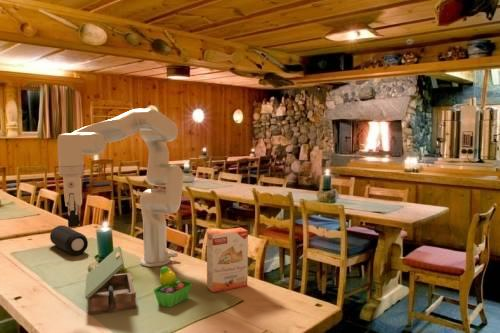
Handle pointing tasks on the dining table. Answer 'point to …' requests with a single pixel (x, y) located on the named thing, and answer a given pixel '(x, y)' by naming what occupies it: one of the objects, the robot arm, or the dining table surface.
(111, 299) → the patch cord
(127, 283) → the brown brick base
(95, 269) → the cover
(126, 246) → the dining table surface
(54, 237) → the portable speaker
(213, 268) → the cracker box
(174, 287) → the green plastic basket
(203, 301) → the dining table surface
